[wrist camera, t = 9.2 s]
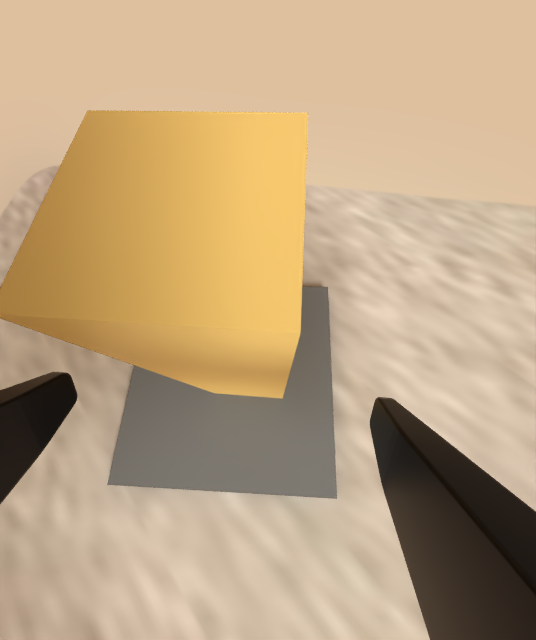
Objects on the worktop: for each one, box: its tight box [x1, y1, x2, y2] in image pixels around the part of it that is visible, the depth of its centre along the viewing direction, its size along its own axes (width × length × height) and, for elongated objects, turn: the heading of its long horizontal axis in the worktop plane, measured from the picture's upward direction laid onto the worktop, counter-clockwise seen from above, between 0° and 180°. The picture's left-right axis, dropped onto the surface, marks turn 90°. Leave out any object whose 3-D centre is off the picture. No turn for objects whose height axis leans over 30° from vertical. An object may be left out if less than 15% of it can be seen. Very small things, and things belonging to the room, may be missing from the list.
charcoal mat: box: [107, 287, 337, 499], centre depth 16 cm, size 12×12×1 cm
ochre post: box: [0, 111, 308, 399], centre depth 10 cm, size 4×4×12 cm
